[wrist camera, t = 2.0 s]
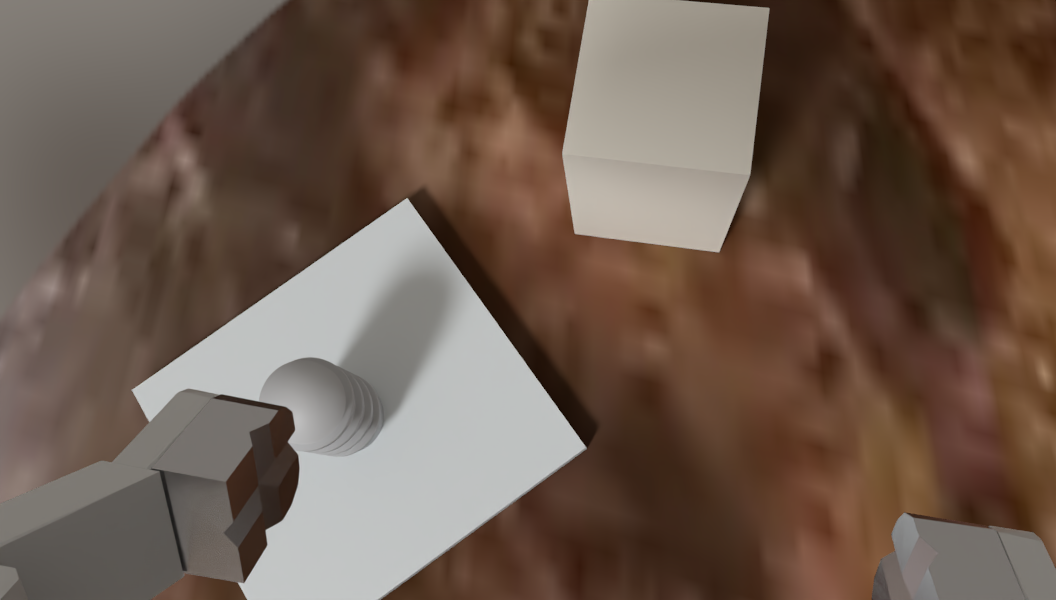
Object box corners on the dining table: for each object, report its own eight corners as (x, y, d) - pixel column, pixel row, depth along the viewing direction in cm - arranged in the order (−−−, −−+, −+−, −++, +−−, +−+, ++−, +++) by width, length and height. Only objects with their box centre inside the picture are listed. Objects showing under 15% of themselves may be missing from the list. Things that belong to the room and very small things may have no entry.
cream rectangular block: (596, 104, 33) (590, -8, 26) (735, 119, 32) (769, 8, 25) (574, 233, 32) (562, 153, 24) (719, 252, 31) (750, 175, 24)
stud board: (412, 205, 33) (369, 143, 27) (586, 448, 30) (579, 435, 24) (143, 392, 32) (43, 369, 26) (293, 663, 29) (215, 701, 23)
